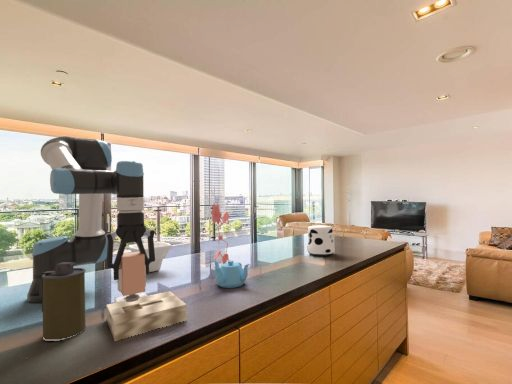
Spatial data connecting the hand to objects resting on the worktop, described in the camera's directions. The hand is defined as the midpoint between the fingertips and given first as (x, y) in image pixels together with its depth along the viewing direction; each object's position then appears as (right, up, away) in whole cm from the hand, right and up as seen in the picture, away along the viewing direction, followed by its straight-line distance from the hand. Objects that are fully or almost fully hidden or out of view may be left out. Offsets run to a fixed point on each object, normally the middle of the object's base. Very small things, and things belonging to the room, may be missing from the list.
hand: (132, 287), depth 84 cm
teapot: (+26, -11, +36) cm, 46 cm away
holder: (-6, -11, +14) cm, 19 cm away
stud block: (0, -4, 0) cm, 4 cm away
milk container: (+80, -11, +94) cm, 124 cm away
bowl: (-18, -13, +63) cm, 67 cm away
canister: (-17, -12, -5) cm, 21 cm away
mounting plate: (+4, -11, +2) cm, 12 cm away
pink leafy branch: (+15, -13, +77) cm, 79 cm away
